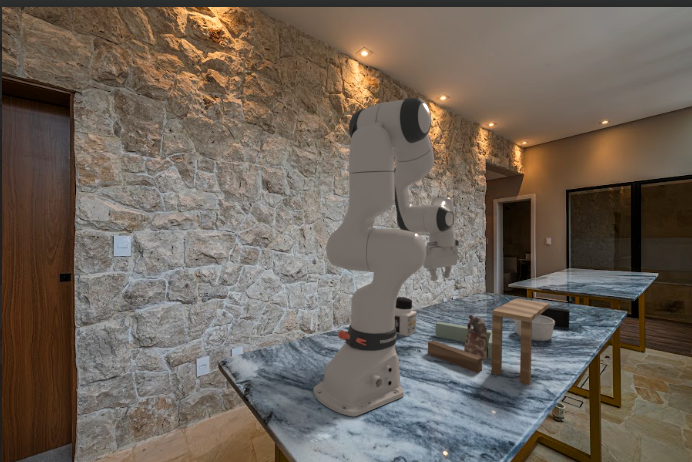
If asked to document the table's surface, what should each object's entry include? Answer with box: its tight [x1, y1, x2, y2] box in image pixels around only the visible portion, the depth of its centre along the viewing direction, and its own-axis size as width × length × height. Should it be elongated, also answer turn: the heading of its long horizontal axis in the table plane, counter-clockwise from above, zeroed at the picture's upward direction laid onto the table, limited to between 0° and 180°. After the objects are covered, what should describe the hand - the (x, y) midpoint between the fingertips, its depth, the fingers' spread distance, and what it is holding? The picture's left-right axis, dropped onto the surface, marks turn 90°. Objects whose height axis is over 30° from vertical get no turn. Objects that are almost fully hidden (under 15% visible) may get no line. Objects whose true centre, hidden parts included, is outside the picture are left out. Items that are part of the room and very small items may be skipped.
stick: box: [427, 340, 483, 374], centre depth 88 cm, size 3×16×4 cm, turn 40°
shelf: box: [490, 297, 550, 386], centre depth 86 cm, size 22×9×17 cm, turn 135°
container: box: [394, 296, 417, 337], centre depth 114 cm, size 8×8×13 cm
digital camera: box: [540, 306, 570, 329], centre depth 127 cm, size 10×5×7 cm, turn 58°
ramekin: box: [513, 315, 555, 342], centre depth 112 cm, size 13×13×7 cm
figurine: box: [463, 314, 488, 360], centre depth 94 cm, size 7×7×12 cm
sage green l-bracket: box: [434, 321, 492, 360], centre depth 101 cm, size 13×21×5 cm, turn 60°
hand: (440, 279), depth 110 cm, fingers open, 8 cm apart
